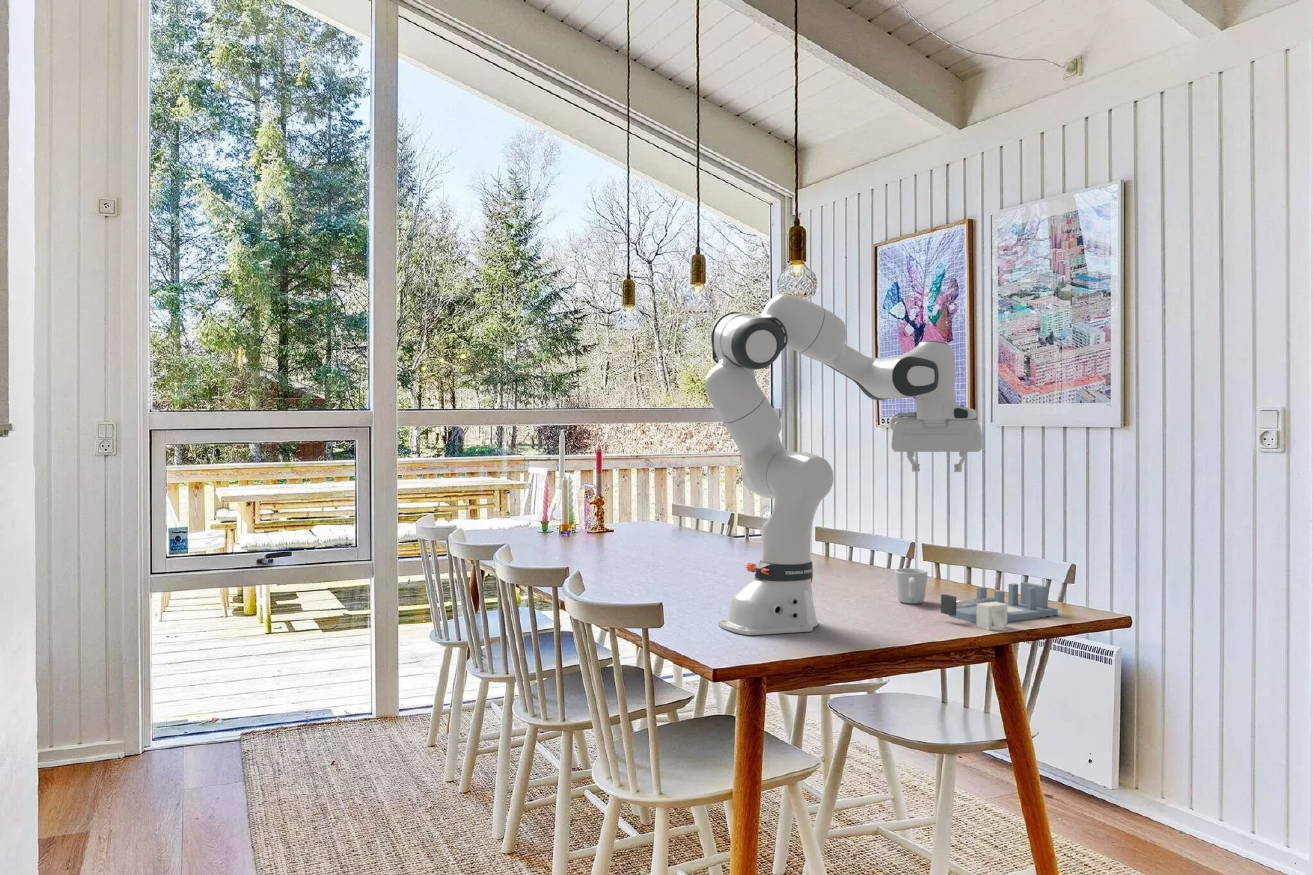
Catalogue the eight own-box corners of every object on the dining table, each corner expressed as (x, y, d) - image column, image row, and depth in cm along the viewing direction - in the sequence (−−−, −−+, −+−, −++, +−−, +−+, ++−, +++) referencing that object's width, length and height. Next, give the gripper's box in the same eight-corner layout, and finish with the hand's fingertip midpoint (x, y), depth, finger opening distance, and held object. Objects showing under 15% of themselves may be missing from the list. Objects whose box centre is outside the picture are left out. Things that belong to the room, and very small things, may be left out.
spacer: (1007, 627, 209) (1007, 604, 209) (988, 630, 207) (988, 606, 207) (995, 624, 212) (995, 601, 212) (976, 627, 210) (976, 603, 210)
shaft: (952, 615, 213) (952, 597, 213) (941, 612, 216) (941, 594, 216) (997, 610, 219) (997, 592, 219) (986, 607, 222) (986, 589, 222)
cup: (929, 608, 231) (929, 575, 230) (895, 607, 232) (896, 574, 232) (926, 599, 241) (926, 568, 241) (893, 598, 243) (894, 567, 243)
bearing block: (983, 625, 212) (983, 596, 212) (948, 615, 222) (948, 588, 222) (1057, 615, 222) (1057, 587, 222) (1021, 607, 232) (1021, 580, 232)
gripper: (887, 412, 219) (888, 472, 220) (980, 411, 211) (981, 473, 211) (893, 412, 225) (893, 470, 226) (983, 410, 217) (984, 471, 217)
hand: (936, 471), depth 218 cm, fingers open, 8 cm apart
